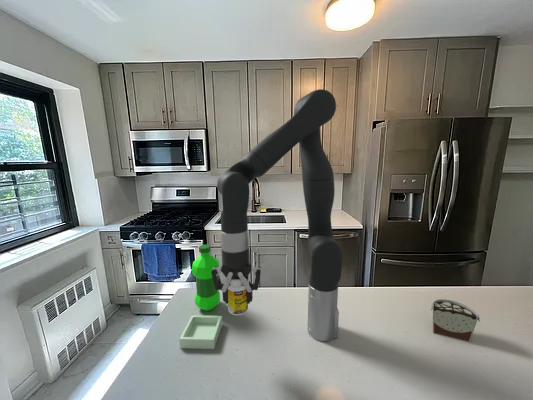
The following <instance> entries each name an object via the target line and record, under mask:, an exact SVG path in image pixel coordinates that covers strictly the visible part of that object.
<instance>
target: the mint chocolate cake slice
mask: <svg viewBox="0 0 533 400" xmlns="http://www.w3.org/2000/svg"><path fill="white" fill-rule="evenodd" d="M431 311H432V333H434V334H433V335H437V336H440V337H441V336H442V337H446V338H449V339H452V340H453V339H454V340H456V341H460V340H461V341H462V342H464V341H465V342H464V343H468V342H469V344H470V343H471V340H472V338H473V337H472V336H473V334H474V331H475V327H476V325H477V322H481V320H480V318H481V317H480V315H479V314H478V312H477V311H475V309H472V308H471V307H469V306H467V305H465V304H463V303H461V302H458V301H454V300H450V299H446V298H445V299H444V298H443V299H442V298H441V299H436V300H434V301H433V302H432V304H431V306H430V312H431ZM461 341H460V342H461Z"/></svg>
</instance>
